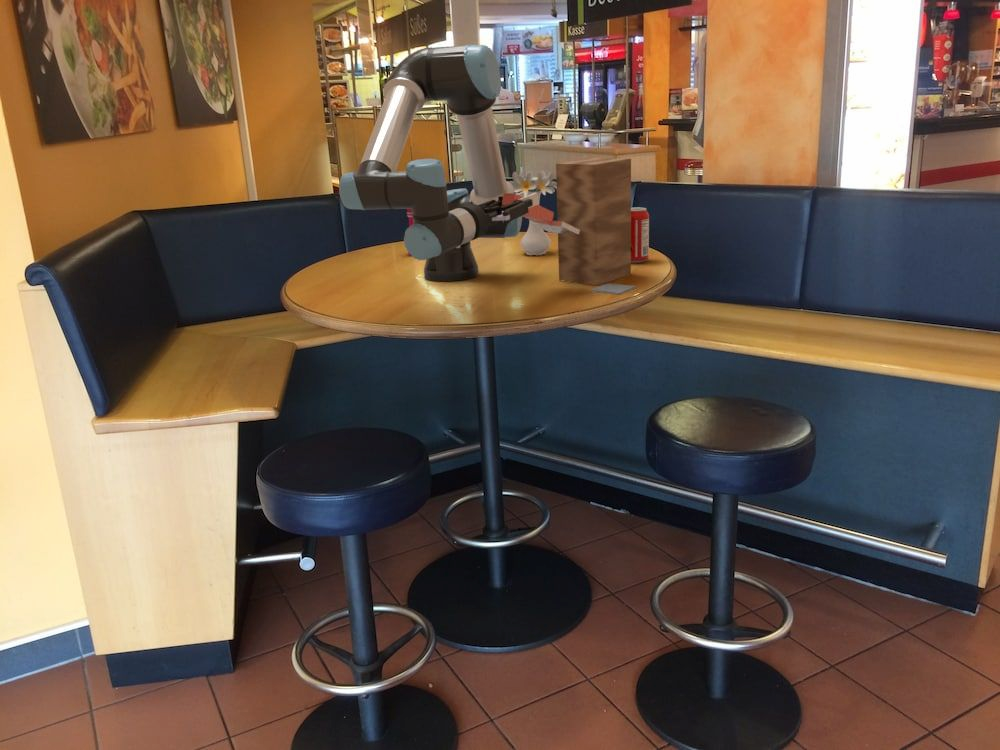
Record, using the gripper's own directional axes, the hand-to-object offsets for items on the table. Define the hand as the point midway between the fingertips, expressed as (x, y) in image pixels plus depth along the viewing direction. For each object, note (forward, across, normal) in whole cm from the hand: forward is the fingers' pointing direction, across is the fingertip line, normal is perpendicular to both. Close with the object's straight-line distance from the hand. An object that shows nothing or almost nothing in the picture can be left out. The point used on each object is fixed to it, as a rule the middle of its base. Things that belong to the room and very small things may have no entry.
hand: (529, 198), depth 195 cm
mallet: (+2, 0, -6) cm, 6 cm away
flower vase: (+43, -34, -29) cm, 62 cm away
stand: (+23, +1, -27) cm, 35 cm away
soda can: (+45, -1, -30) cm, 54 cm away
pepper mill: (+25, -68, -27) cm, 77 cm away
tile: (+13, +12, -26) cm, 32 cm away
